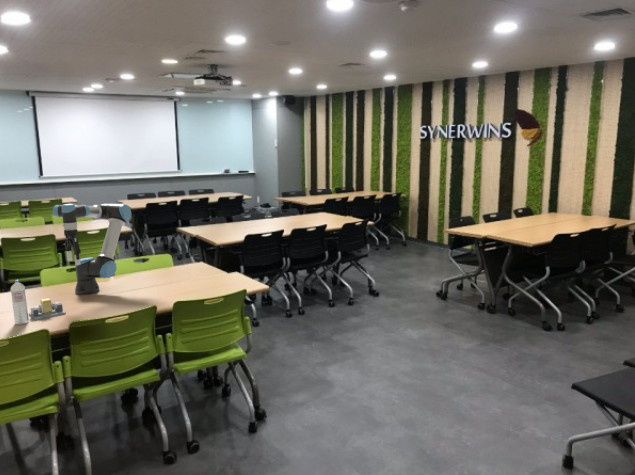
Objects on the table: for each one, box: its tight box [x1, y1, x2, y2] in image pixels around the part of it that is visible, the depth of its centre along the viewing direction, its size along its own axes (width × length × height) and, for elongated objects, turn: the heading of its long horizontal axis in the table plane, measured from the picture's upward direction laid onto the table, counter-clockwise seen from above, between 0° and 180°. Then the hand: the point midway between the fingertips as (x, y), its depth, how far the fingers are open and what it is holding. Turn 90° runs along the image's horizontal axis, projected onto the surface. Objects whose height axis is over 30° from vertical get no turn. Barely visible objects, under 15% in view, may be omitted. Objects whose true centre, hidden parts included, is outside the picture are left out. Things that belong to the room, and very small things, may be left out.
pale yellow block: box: [39, 297, 52, 314], centre depth 297 cm, size 4×4×8 cm
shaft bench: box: [28, 301, 67, 321], centre depth 298 cm, size 14×16×6 cm
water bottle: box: [10, 279, 29, 326], centre depth 282 cm, size 7×7×25 cm
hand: (73, 263), depth 312 cm, fingers open, 13 cm apart
